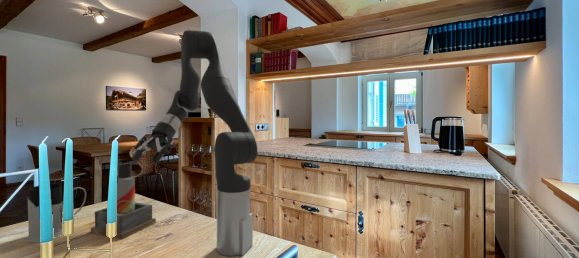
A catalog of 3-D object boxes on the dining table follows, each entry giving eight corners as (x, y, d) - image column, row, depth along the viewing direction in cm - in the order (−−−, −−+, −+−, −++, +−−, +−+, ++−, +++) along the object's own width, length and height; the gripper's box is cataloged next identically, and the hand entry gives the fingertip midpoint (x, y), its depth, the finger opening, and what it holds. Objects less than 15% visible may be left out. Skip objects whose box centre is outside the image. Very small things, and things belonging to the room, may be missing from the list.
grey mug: (28, 234, 82) (26, 186, 81) (86, 223, 91) (85, 179, 90) (24, 245, 75) (23, 193, 75) (87, 231, 84) (86, 185, 84)
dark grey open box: (155, 222, 92) (155, 204, 92) (122, 239, 80) (121, 217, 80) (127, 217, 96) (126, 200, 96) (90, 232, 84) (90, 212, 84)
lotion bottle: (125, 227, 85) (125, 165, 84) (110, 225, 86) (109, 164, 85) (139, 220, 90) (138, 162, 90) (124, 218, 92) (124, 161, 91)
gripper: (147, 120, 104) (121, 153, 94) (177, 121, 100) (153, 156, 90) (157, 133, 110) (134, 165, 99) (186, 134, 106) (165, 168, 95)
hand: (143, 161), depth 95 cm, fingers open, 8 cm apart
